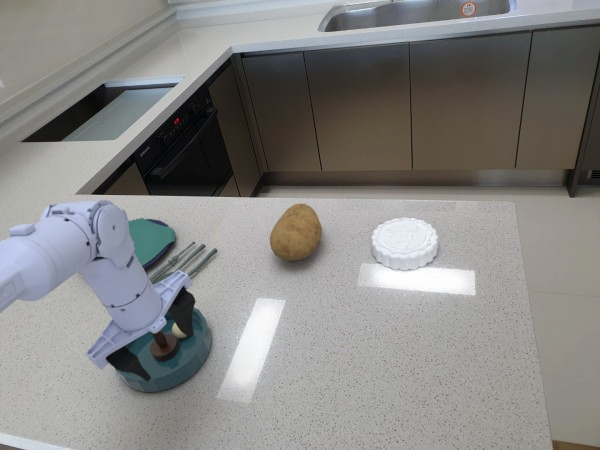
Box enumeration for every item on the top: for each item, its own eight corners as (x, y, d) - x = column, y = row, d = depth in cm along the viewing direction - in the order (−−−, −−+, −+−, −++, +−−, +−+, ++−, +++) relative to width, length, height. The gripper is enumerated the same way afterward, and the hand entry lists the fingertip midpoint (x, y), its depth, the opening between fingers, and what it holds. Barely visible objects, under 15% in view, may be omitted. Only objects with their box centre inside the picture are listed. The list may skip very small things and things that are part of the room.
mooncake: (385, 224, 92) (384, 210, 90) (445, 235, 87) (446, 220, 85) (362, 262, 85) (360, 248, 83) (426, 277, 79) (426, 262, 77)
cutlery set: (135, 217, 110) (132, 209, 109) (227, 249, 95) (224, 240, 93) (64, 269, 98) (59, 261, 97) (155, 316, 82) (151, 307, 81)
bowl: (158, 411, 67) (150, 398, 65) (102, 365, 75) (93, 352, 73) (231, 338, 75) (225, 324, 73) (173, 305, 84) (166, 291, 82)
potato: (330, 227, 95) (325, 195, 90) (317, 274, 84) (310, 241, 79) (285, 226, 98) (277, 195, 93) (267, 272, 87) (258, 240, 82)
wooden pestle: (166, 365, 73) (146, 329, 67) (147, 355, 75) (126, 320, 70) (185, 344, 75) (167, 308, 70) (166, 336, 78) (147, 300, 72)
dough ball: (178, 335, 74) (191, 321, 75) (166, 326, 75) (179, 313, 77) (183, 344, 76) (196, 331, 77) (171, 335, 77) (184, 323, 79)
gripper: (89, 350, 47) (142, 414, 55) (192, 258, 54) (224, 327, 63) (55, 322, 50) (109, 385, 59) (155, 240, 58) (191, 307, 67)
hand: (166, 354), depth 61 cm, fingers open, 7 cm apart
